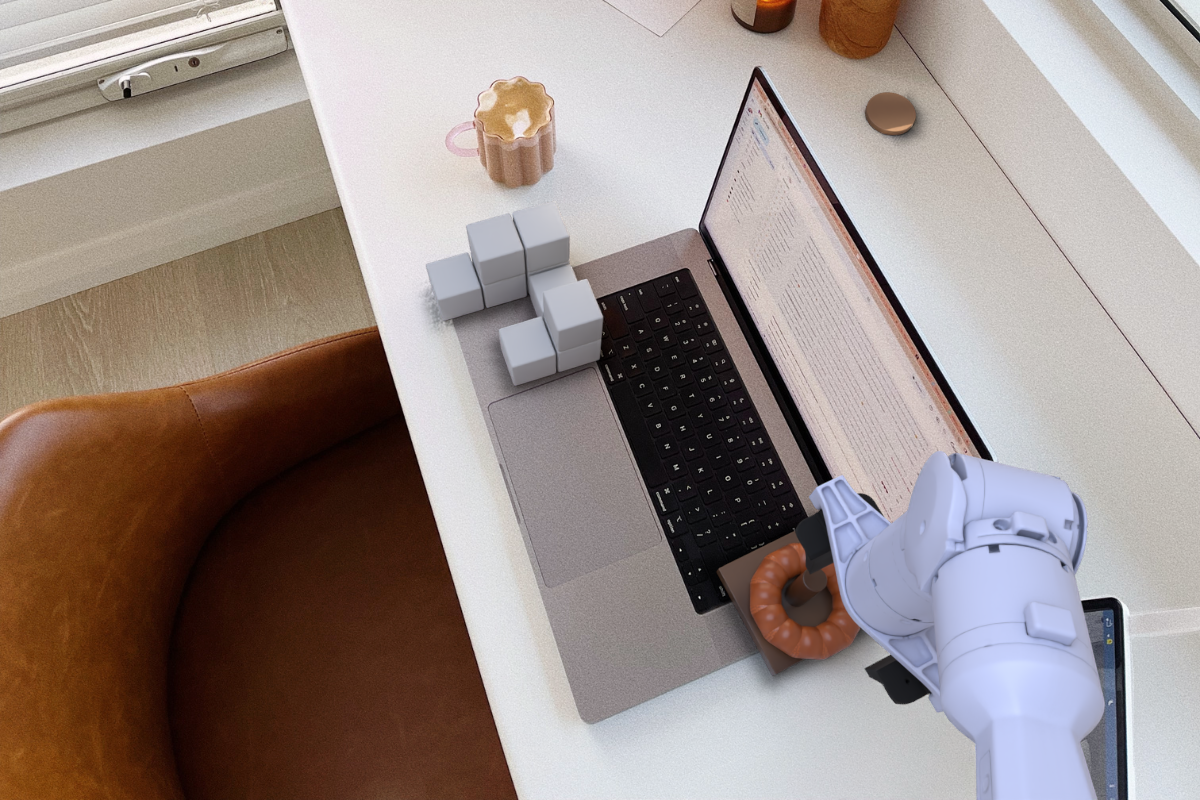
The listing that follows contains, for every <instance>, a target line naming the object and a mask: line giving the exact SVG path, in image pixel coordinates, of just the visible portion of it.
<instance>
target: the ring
mask: <svg viewBox="0 0 1200 800" xmlns="http://www.w3.org/2000/svg"><path fill="white" fill-rule="evenodd" d="M805 562H806V555H805V550H804V548H803V547H802V545H801V543H791V544H788V545H786V546H784V547H782V548H780V549H778V550H776V551H774V552H772V553H770V554H768V555H767V556H766V557H765V558H764V559H763V561H762V562H761V564H760V566H759V567H758V569H757V571H756V572H755V574H754V575H753V577H752V579H751V582H750V611H751V614H752V616H753V618H754V620H755V622H756V624H757V626H758V627H759V629H760V631H761V633H762V635H763V637H764V638H765V639H766V640H767V641H768V642H769V643H771V644H772V645H774V646H775V647H777V648H778V649H780V650H781V651H783V652H784V653H786V654H787V655H789V656H791V657H793V658H802V659H804V660H817V661H819V660H820V661H822V660H826V659H828V658H831V657H832V656H834V655H836V654H838V653H840V652H842V651H844V650H846V649H847V648H849V647H850V646H851V645H852V644H853V643H854V640H855V639H856V637H857V635H858V634H859V631H861V630H860V628H861V627H859V626H858V625H857V624H856V623H855V622H854V621H853V619H852V618H851V617H850V615H849V614H848V612H847V610H846V609H845V607H844V604H843V602H842V599H841V595H840V590H839V585H838V581H837V576H836V571H835V566H834V563H832V564H830V565H828V566H826V567H824V568H822V569H821V570H822V571H823V572H824V573H825V574H826V577H827V584H826V586H827V588H828V590H829V591H830V593H831V595H832V608H833V610H832V612H831V613H830V615H829V617H828V619H827V620H826V621H825V622H823V623H821V624H819V625H817V626H816V627H812V626H801V625H800V624H798V623H796V622H795V621H793V620H792V619H790V618H789V617H788V615H787V613H786V611H785V610H784V608H783V606H782V589H783V587H784V586H785V584H786V582H787V581H788V580H789V579H791V578H793V577H795V576H797V575H799V574H802V573H803V572H804V571H805V570H807V568H806V566H805Z"/></svg>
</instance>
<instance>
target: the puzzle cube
mask: <svg viewBox="0 0 1200 800" xmlns="http://www.w3.org/2000/svg"><path fill="white" fill-rule="evenodd" d="M465 230H466V234H467V241H468V246H469V251H470V253H469V252H463V253H459V254H456V255H452V256H449V257H446V258H445V257H444V258H441V259H438V260H434V261H432V262H428V263H426V264H425V268H426V272H427V276H428V280H429V283H430V287H431V290H432V293H433V297H434V299H435V302H436V305H437V308H438V311H439V315H440V317H441V320H442V321H448V320H451V319H452V320H453V319H455V318H458V317H462V316H466V315H468V314H472V313H475V312H479V311H482V310H484V309H485V308H488V309H489V308H493V307H495V306H499V305H502V304H505V303H510V302H513V301H515V300H516V301H517V300H519V299H523V298H526V297H527V296H528V295H529V296H530V297H529V298H530V301H531V304H532V307H533V309H534V311H535V314H536V316H537V317H534V318H530V319H528V320H523V321H520V322H517V323H514V324H511V325H506V326H504V327H501V328H499V329H498V337H499V343H500V351H501V353H502V356H503V358H504V361H505V364H506V367H507V371H508V373H509V376H510V378H511V381H512V384H513V386H516V387H517V386H520V385H522V384H526V383H529V382H533V381H536V380H539V379H542V378H546V377H548V376H551V375H555V374H556V373H557V372H560V373H561V372H564V371H568V370H571V369H573V368H577V367H580V366H583V365H587V364H591V363H593V362H597V361H599V360H600V358H601V348H602V336H603V335H602V334H603V325H604V324H603V323H604V315H603V313H602V310H601V308H600V305H599V304H598V303H599V302H598V300H597V298H596V295H595V294H594V291H593V288H592V286H591V283H590V281H589V279H587V278H584V279H579V280H578V279H577V276H576V273H575V271H574V269H573V266H572V264H570V263H571V262H570V259H571V258H570V257H571V235H570V232H569V230H568V227H567V225H566V223H565V220H564V218H563V215H562V213H561V210H560V208H559V205H558V203H557V201H556V200H549V201H547V202H542V203H540V204H536V205H532V206H528V207H526V208H521V209H517V210H514V211H512V214H511V213H509V212H507V213H504V214H500V215H496V216H493V217H490V218H486V219H482V220H480V221H478V220H477V221H475V222H471V223H467V224H466V226H465Z"/></svg>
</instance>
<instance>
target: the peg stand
mask: <svg viewBox="0 0 1200 800" xmlns="http://www.w3.org/2000/svg"><path fill="white" fill-rule="evenodd" d="M791 543H800V542H799V540H798V538H797V536H796V533H795V530H794V531H792V532H790V533H788V534H786V535H783V536H781V537H780V538H778V539H775V540H773V541H772V542H769V543H767V544H765V545H764V546H762V547H759V548H757V549H755V550H753V551H751V552H748V553H747V554H745V555H743V556H741V557H739V558H737V559H735V560H732V561H731V562H729V563H727V564H724V565H723V566H721V567H719V568H718V569H717V570H716V574H717V576H718V578H719V579H720V581H721V583H722V586H723V588H724V589H725V591H726V593H727V594H728V597H729V599H730V601H731V603H732V604H733V606H734V607H735V610H736V611H737V613H738V615H739V617H740V619H741V621H742V622H743V624H744V626H745V628H746V629H747V633H748V634H749V635H750V637H751V639H752V641H753V643H754V645H755V647H756V649H757V650H758V653H759V654H760V656H761V658H762V659H763V661H764V663H765V665H766V667H767V669H768V671H769V673H770V675H771V676H772V677H774V676H776V675H778V674H779V673H781V672H783V671H785V670H788V669H789V668H790V667H793V666H795V665H797V664H798V663H800V662H802V661H804V660H805V659H802V658H793V657H791V656H789V655H787V654H786V653H784V652H783V651H781V650H780V649H778V648H777V647H775V646H774V645H772V644H771V643H769V642H768V641H767V640H766V639H765V638H764V637H763V635H762V633H761V631H760V629H759V627H758V626H757V624H756V622H755V620H754V618H753V616H752V614H751V611H750V582H751V579H752V577H753V575H754V574H755V572H756V571H757V569H758V567H759V566H760V564H761V562H762V561H763V559H764V558H765V557H766V556H767V555H768V554H770V553H772V552H774V551H776V550H778V549H780V548H782V547H784V546H786V545H788V544H791ZM826 584H827V577H826V574H825V573H824V572H823V571H822V570H821V569H820V570H818V571H816V572H814V573H812V574H810V573H809V572H808V570H805V571H804V572H803V573H802V574H799V575H797V576H795V577H793V578H791V579H789V580H788V581H787V582H786V584H785V586H784V587H783V589H782V606H783V608H784V610H785V611H786V613H787V615H788V617H789V618H790V619H792V620H793V621H795V622H796V623H798V624H800V625H801V626H812V627H816V626H817V625H819V624H821V623H823V622H825V621H826V620H827V619H828V617H829V615H830V613H831V612H832V610H833V608H832V595H831V593H830V591H829V590H828V588H827V586H826ZM861 630H863V629H862V628H860V630H859V631H861Z"/></svg>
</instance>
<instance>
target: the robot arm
mask: <svg viewBox="0 0 1200 800" xmlns="http://www.w3.org/2000/svg"><path fill="white" fill-rule="evenodd" d="M920 469H921V470H920V472H919V473H918V476H917V478H916V480H915V483H914V486H913V489H912V491H911V495H910V499H909V503H908V507H907V510H906V511H905V512H903V513H902V514H901V515H899V516H898V517H897V518H896V519H895V520H894V521H892V522H890V520H888V519H887V518H886V517H885V516H884V514H883V512H882V511H881V509H880V508H879V506H878V504H877V502H876V500H874V499H873V498H872V496H870V495H868V494H866V493H863V492H857V491H856V490H855V489H854V488H853V487H852V486H851V484H850V483H849V481H848V480H847V479H846V477H845V475H843V474H841V475H838V476H837V477H835V478H833V479H831V480H828V481H826V482H824V483H821V484H820V485H818V486H816V487H815V488H814V489H813V490H812V492H811V493H810V494H809V496H808V499H809V500H810V502H811V504H812V505H813V507H814V508H815V509H816V510H818V511H816V512H815V513H814V514H812V515H810V516H807V517H806V518H804V519H802V520H801V521H800V522H798V524H797V526H796V527H795V530H794V531H795V533H796V536H797V538H798V540H799V542H800V543H801V545H802V547H803V548H804V550H805V555H806V562H805V566H806V568H807V570H808V572H809V573H810V574H812V573H814V572H816V571H818V570H820V569H822V568H824V567H826V566H828V565H830V564H832V563H834V566H835V571H836V576H837V581H838V585H839V590H840V595H841V599H842V602H843V604H844V607H845V609H846V610H847V612H848V614H849V615H850V617H851V618H852V619H853V621H854V622H855V623H856V624H857V625H858V626H859V627H861V628H862V629H861V630H863V632H865V633H866V634H867V635H868V636H869V637H870V638H872V640H873V641H875V642H876V643H877V644H878V645H879V646H881V648H883V649H884V650H885V651H886V652H887V653H888V654H889V655H887V656H885V657H883V658H881V659H880V660H877V661H876V662H874V663H872V664H870V665H868V666H866V667H864V671H865V672H866V674H867V676H868V677H869V678H870V679H872V680H874V681H875V682H877V683H879V684H881V685H882V687H883V689H884V690H885V692H886V694H887V695H888V697H889V698H890V700H891V701H892V703H894V704H895V705H909V704H911V703H915V702H916V701H918V700H921V699H922V698H924V697H926V696H927V695H928V700H929V702H930V704H931V705H932V707H933V709H934V710H935V712H936V713H944V715H945V717H946V718H947V721H948V722H950V723H951V725H953V727H954V728H955V729H956V730H957V731H958V732H959V733H961V734H962V735H963V736H965V737H966V738H967V739H968V740H969V741H971V742H972V743H974V744H975V786H976V787H975V790H976V793H975V794H976V797H975V798H976V800H1098V797H1097V793H1096V790H1095V787H1094V782H1093V780H1092V777H1091V773H1090V771H1089V766H1088V763H1087V760H1086V757H1085V754H1084V750H1083V747H1082V744H1081V741H1082V740H1084V739H1085V738H1087V736H1089V734H1090V733H1092V731H1094V729H1095V728H1096V727H1097V726H1098V725H1099V723H1100V721H1101V720H1102V717H1103V715H1104V712H1105V708H1106V703H1105V698H1104V694H1103V693H1104V692H1103V689H1102V685H1101V679H1100V676H1099V671H1098V668H1097V663H1096V659H1095V655H1094V651H1093V646H1092V645H1093V644H1092V641H1091V638H1090V637H1091V636H1090V633H1089V629H1088V624H1087V621H1086V616H1085V613H1084V608H1083V603H1082V599H1081V596H1080V591H1079V587H1078V583H1077V579H1076V574H1077V572H1078V571H1079V569H1080V566H1081V563H1082V561H1083V559H1084V554H1085V550H1086V547H1087V542H1088V541H1087V540H1088V532H1089V531H1088V527H1089V526H1088V525H1089V523H1088V521H1089V520H1088V512H1087V508H1086V505H1085V502H1084V501H1083V499H1082V497H1081V496H1080V495H1079V494H1078V493H1077V492H1075V491H1072V490H1071V488H1070V486H1069V484H1068V483H1067V481H1065V479H1062V478H1061V477H1059V476H1055V475H1051V474H1047V473H1043V472H1038V471H1034V470H1030V469H1027V468H1022V467H1019V466H1013V465H1010V464H1006V463H1002V462H998V461H992V460H988V459H984V458H980V457H976V456H972V455H967V454H965V453H964V454H963V453H959V452H954V453H951V454H949V455H947V453H946V452H945V451H943V450H937V451H935V452H933V453H932V454H931V455H929V457H928V458H927V460H926V461H925V463H924V464H923V465H922V467H921V468H920Z"/></svg>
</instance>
